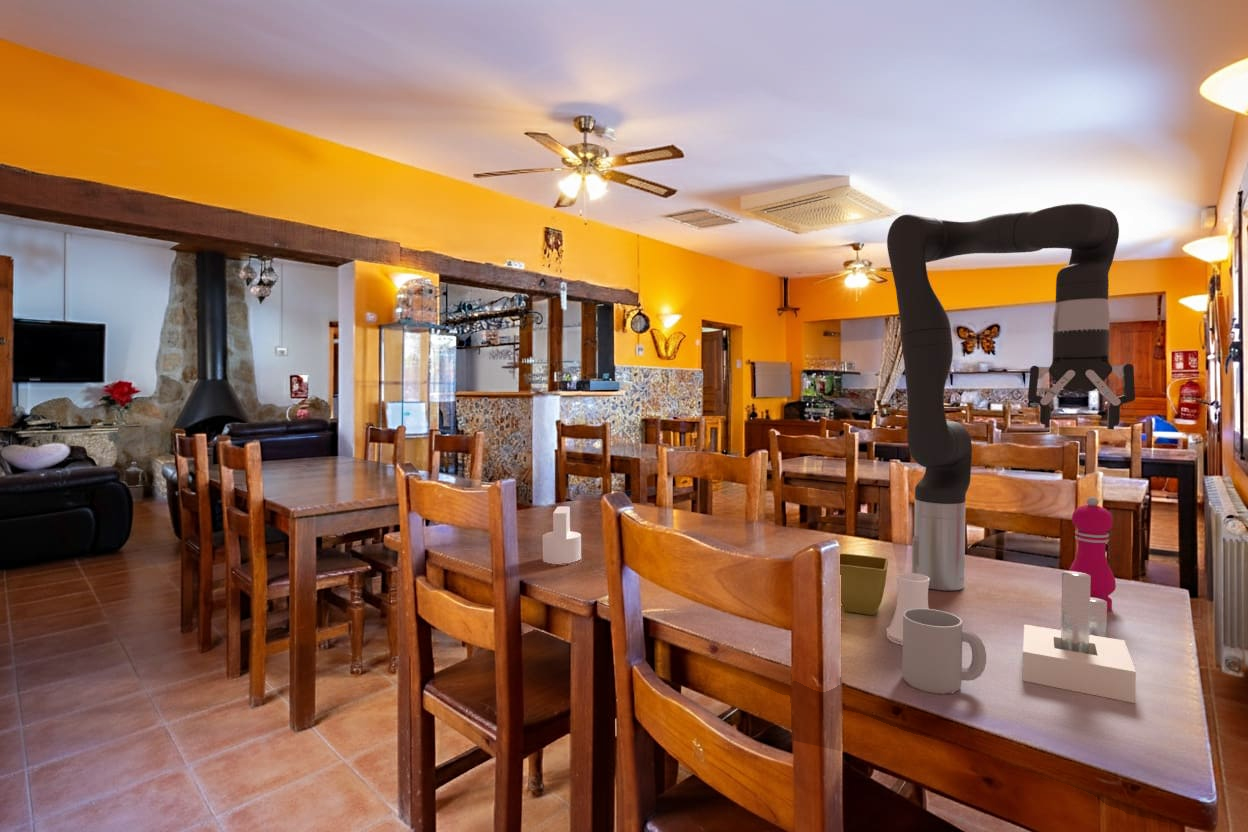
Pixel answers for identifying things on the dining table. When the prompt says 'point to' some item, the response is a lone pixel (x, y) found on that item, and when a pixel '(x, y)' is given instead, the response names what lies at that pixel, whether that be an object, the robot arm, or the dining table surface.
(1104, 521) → the pepper mill
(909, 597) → the vase
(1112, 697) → the socket block
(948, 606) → the dining table surface
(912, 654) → the cup
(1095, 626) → the short pin
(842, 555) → the flower pot
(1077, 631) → the tall pin
